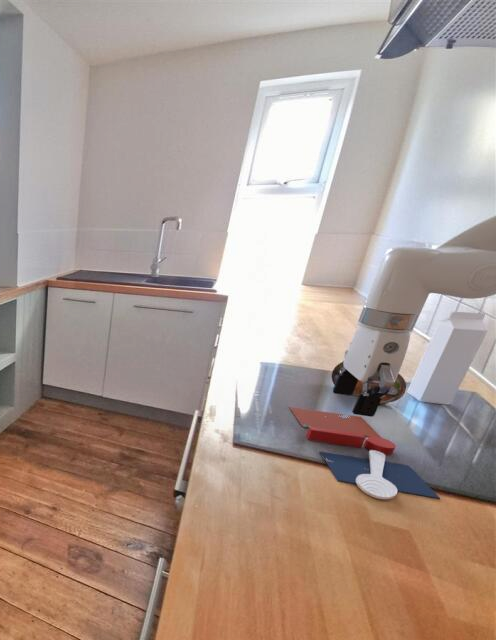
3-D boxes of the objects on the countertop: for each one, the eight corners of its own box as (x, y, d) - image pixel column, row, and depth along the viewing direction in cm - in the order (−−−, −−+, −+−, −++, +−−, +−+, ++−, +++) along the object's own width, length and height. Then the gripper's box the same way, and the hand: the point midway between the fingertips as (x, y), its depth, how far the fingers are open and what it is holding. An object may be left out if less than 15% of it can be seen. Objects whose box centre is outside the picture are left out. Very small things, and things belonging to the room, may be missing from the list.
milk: (450, 405, 100) (496, 317, 91) (418, 401, 102) (460, 314, 93) (435, 395, 105) (477, 310, 96) (405, 391, 107) (444, 308, 98)
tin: (326, 385, 111) (337, 356, 108) (334, 384, 112) (345, 355, 109) (391, 409, 98) (405, 377, 95) (400, 408, 99) (414, 375, 96)
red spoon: (386, 445, 84) (390, 435, 83) (397, 456, 80) (402, 446, 79) (303, 432, 88) (307, 423, 87) (310, 443, 85) (313, 433, 84)
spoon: (395, 457, 79) (396, 455, 79) (397, 504, 67) (398, 502, 67) (359, 447, 82) (359, 445, 82) (354, 490, 70) (355, 488, 70)
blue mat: (408, 466, 77) (408, 465, 77) (439, 499, 69) (440, 498, 69) (318, 452, 82) (319, 451, 82) (338, 481, 73) (338, 480, 73)
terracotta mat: (360, 417, 95) (361, 416, 95) (381, 438, 86) (381, 437, 86) (289, 407, 99) (289, 407, 99) (302, 427, 91) (302, 426, 91)
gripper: (442, 335, 66) (397, 428, 73) (389, 310, 81) (356, 389, 88) (384, 329, 68) (346, 420, 75) (342, 307, 83) (314, 384, 90)
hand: (351, 403), depth 81 cm, fingers open, 9 cm apart
